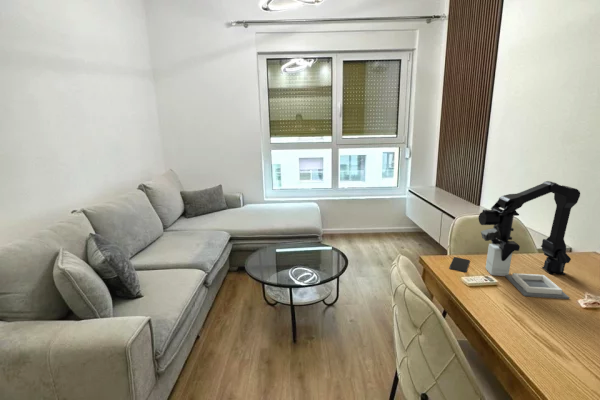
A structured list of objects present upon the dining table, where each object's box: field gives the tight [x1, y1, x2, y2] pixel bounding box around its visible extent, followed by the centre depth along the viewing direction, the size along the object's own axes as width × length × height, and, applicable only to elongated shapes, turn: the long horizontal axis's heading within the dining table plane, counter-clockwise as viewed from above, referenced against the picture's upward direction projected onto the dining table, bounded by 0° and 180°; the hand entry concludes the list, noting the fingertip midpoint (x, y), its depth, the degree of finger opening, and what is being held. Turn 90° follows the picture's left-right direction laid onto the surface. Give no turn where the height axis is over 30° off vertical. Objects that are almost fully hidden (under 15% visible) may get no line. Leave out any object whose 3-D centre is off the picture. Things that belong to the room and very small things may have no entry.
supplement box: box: [485, 243, 513, 277], centre depth 143 cm, size 7×7×13 cm
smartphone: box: [448, 256, 471, 273], centre depth 153 cm, size 7×1×15 cm
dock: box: [504, 272, 570, 300], centre depth 132 cm, size 16×16×3 cm
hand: (498, 257), depth 143 cm, fingers closed on supplement box, 7 cm apart
